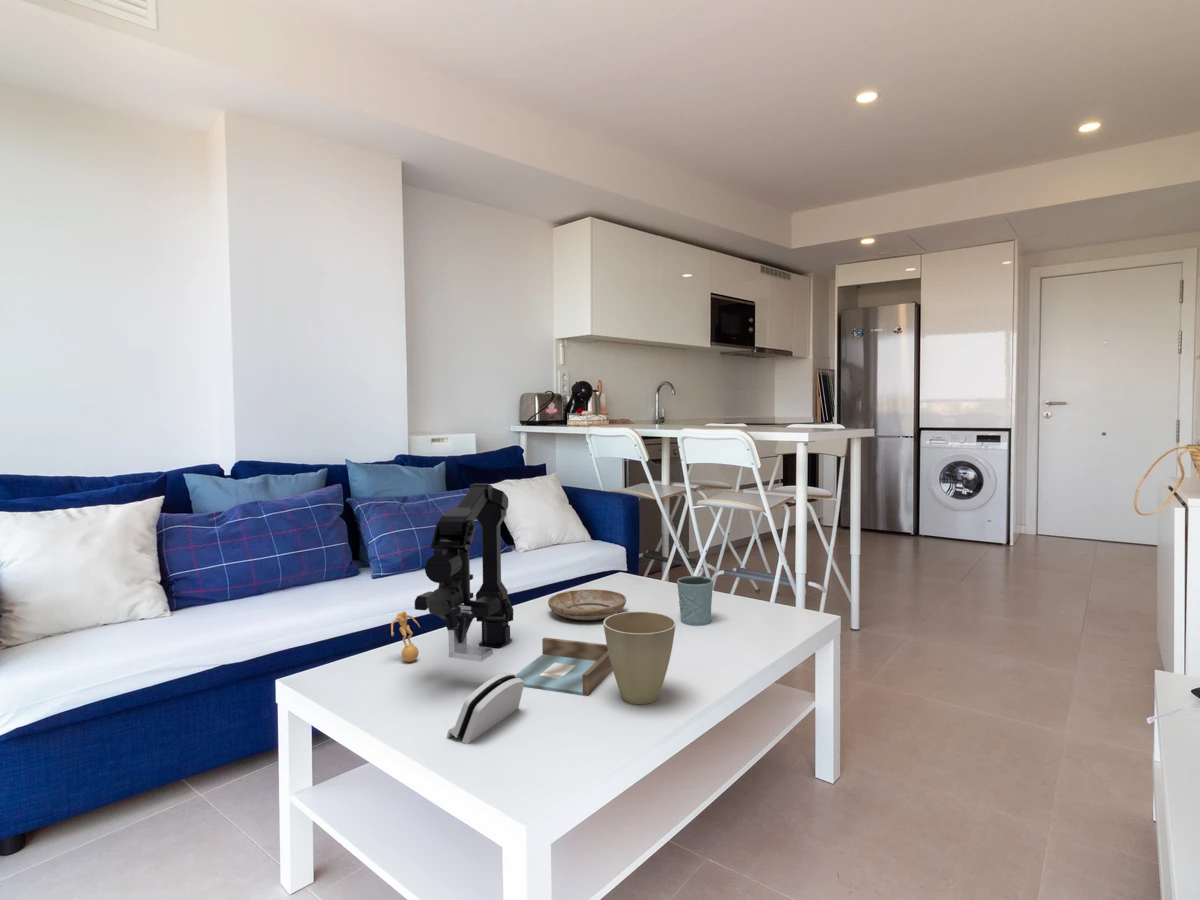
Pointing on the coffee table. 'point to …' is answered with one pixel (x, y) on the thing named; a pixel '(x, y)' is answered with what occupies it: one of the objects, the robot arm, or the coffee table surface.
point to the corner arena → (568, 667)
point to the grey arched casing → (488, 706)
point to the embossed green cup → (695, 600)
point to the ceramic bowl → (587, 604)
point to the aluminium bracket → (465, 648)
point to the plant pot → (639, 652)
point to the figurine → (409, 650)
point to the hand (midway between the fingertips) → (457, 642)
